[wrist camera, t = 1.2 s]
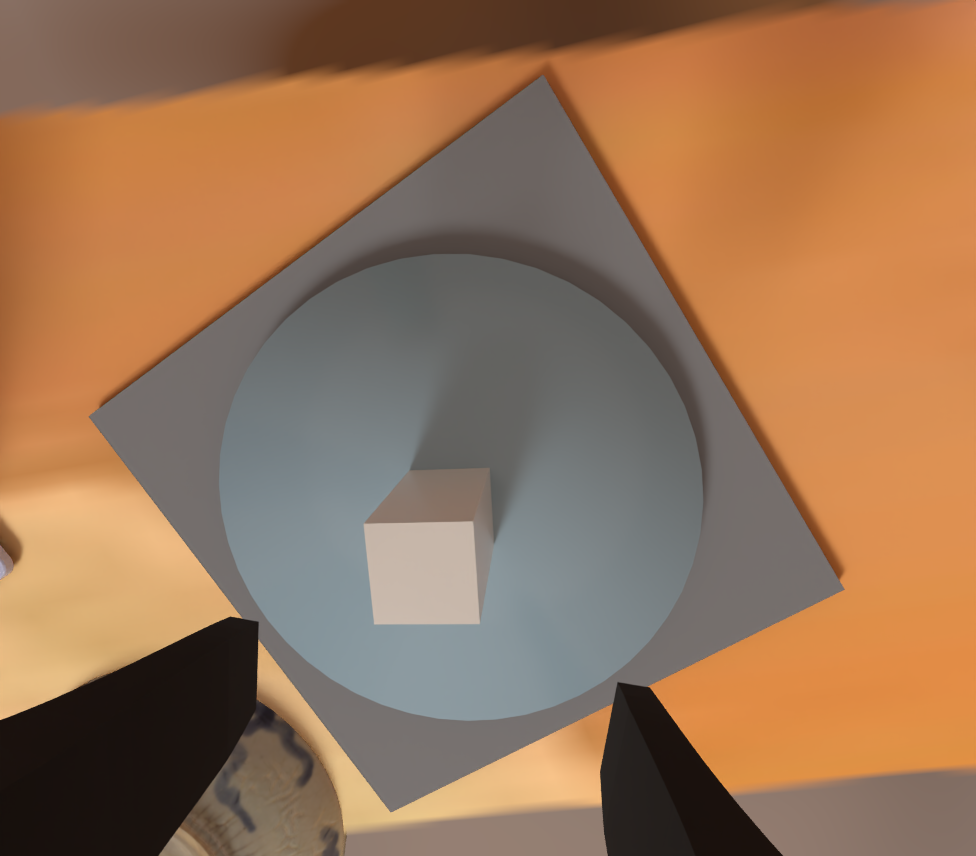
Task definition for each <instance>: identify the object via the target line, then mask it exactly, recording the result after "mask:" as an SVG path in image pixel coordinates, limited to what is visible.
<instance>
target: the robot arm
mask: <svg viewBox="0 0 976 856" xmlns="http://www.w3.org/2000/svg"><path fill="white" fill-rule="evenodd" d="M13 566H14V565H13V561H12V559H11V557H10V556H9V555H8V554H7V552H6V551H5V550H4V549H3V548H2V546H1V545H0V580H1V579H2V578H4V577H5V576H7V575H8V574H9V573H11V571H12V570H13ZM258 632H259V621H253V620H247V619H241V618H235V617H228V618H226V619H224V620H221V621H219V622H217V623H214V624H212V625H210V626H208V627H206V628H204V629H202V630H199V631H197V632H195V633H193V634H191V635H189V636H187V637H185V638H183V639H181V640H179V641H177V642H175V643H173V644H171V645H169V646H167V647H165V648H163V649H161V650H159V651H156V652H154V653H152V654H150V655H148V656H146V657H144V658H142V659H140V660H138V661H136V662H134V663H132V664H130V665H128V666H126V667H123V668H121V669H119V670H117V671H115V672H113V673H110V674H108V675H106V676H104V677H101V678H99V679H97V680H95V681H93V682H90V683H88V684H86V685H84V686H81V687H79V688H77V689H75V690H72V691H70V692H68V693H66V694H64V695H61V696H59V697H57V698H55V699H52V700H50V701H47V702H45V703H43V704H40V705H38V706H35V707H33V708H30V709H28V710H25V711H23V712H20V713H18V714H15V715H13V716H10V717H8V718H5V719H2V720H0V856H159V854H160V853H161V852H162V850H163V849H164V847H165V846H166V845H167V843H168V842H169V841H170V839H171V838H172V836H173V835H174V834H175V832H176V831H177V830H178V828H179V827H180V826H181V824H182V823H183V821H184V820H185V819H186V817H187V816H188V815H189V813H190V812H191V810H192V809H193V808H194V806H195V805H196V804H197V802H198V801H199V799H200V798H201V797H202V795H203V794H204V792H205V791H206V790H207V788H208V787H209V785H210V784H211V783H212V781H213V780H214V779H215V777H216V776H217V774H218V773H219V772H220V770H221V769H222V767H223V766H224V764H225V763H226V762H227V760H228V758H229V757H230V755H231V753H232V751H233V750H234V748H235V746H236V745H237V743H238V741H239V739H240V738H241V736H242V734H243V732H244V731H245V729H246V727H247V725H248V723H249V721H250V720H251V718H252V716H253V714H254V712H255V710H256V698H257V665H258ZM600 778H601V795H602V810H603V824H604V835H605V840H606V847H607V853H608V856H783V855H782V854H781V853H780V852H779V851H778V850H777V849H776V848H775V847H774V845H773V844H772V843H771V842H770V841H769V840H768V839H767V837H766V836H765V835H764V834H763V833H762V832H761V831H760V829H759V828H758V827H757V826H756V825H755V824H754V822H753V821H752V820H751V819H750V818H749V816H748V815H747V814H746V813H745V812H744V811H743V810H742V808H741V807H740V806H739V805H738V804H737V802H736V801H735V800H734V799H733V797H732V796H731V795H730V794H729V793H728V791H727V790H726V789H725V788H724V786H723V785H722V784H721V783H720V781H719V780H718V779H717V778H716V776H715V775H714V774H713V772H712V771H711V770H710V769H709V767H708V766H707V765H706V763H705V762H704V761H703V760H702V758H701V757H700V756H699V754H698V753H697V752H696V750H695V749H694V748H693V746H692V745H691V744H690V742H689V741H688V739H687V738H686V737H685V735H684V734H683V733H682V731H681V730H680V729H679V727H678V726H677V724H676V723H675V722H674V720H673V719H672V717H671V716H670V715H669V713H668V712H667V711H666V709H665V708H664V706H663V705H662V704H661V702H660V701H659V700H658V698H657V697H656V695H655V694H654V693H653V691H652V690H651V689H650V687H644V686H638V685H632V684H627V683H621V682H617V687H616V692H615V697H614V702H613V708H612V713H611V718H610V723H609V728H608V733H607V739H606V744H605V749H604V754H603V759H602V765H601V770H600Z"/></svg>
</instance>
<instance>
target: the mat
mask: <svg viewBox="0 0 976 856" xmlns="http://www.w3.org/2000/svg"><path fill="white" fill-rule="evenodd" d="M431 254H472V255H479V256H487V257H494V258H501V259H506V260H509V261H513V262H516V263H520V264H523V265H527V266H531V267H534V268H537V269H540V270H542V271H544V272H547V273H549V274H551V275H554V276H556V277H558V278H560V279H563V280H565V281H567V282H569V283H571V284H573V285H574V286H576V287H578V288H579V289H581V290H583V291H584V292H586V293H588V294H589V295H591V296H592V297H594V298H596V299H597V300H599V301H600V302H602V303H603V304H604V305H605V306H606V307H608V308H609V309H610V310H611V311H613V312H614V313H615V314H616V315H617V316H619V317H620V318H621V319H622V320H624V321H625V322H626V323H627V324H628V325H629V326H630V327H631V328H632V329H633V330H634V331H635V333H636V334H637V335H638V336H639V337H640V338H641V339H642V340H643V341H644V342H645V343H646V344H647V345H648V347H649V348H650V349H651V350H652V352H653V353H654V355H655V356H656V357H657V359H658V360H659V362H660V363H661V365H662V366H663V367H664V369H665V370H666V372H667V373H668V375H669V376H670V378H671V380H672V382H673V384H674V386H675V388H676V390H677V392H678V394H679V396H680V398H681V400H682V402H683V404H684V405H685V408H686V411H687V414H688V417H689V420H690V423H691V425H692V428H693V431H694V434H695V437H696V442H697V447H698V452H699V458H700V463H701V468H702V484H703V511H702V522H701V532H700V537H699V541H698V545H697V549H696V554H695V558H694V562H693V565H692V568H691V570H690V573H689V575H688V578H687V580H686V583H685V585H684V588H683V590H682V593H681V594H680V596H679V598H678V600H677V601H676V603H675V605H674V607H673V609H672V610H671V612H670V614H669V616H668V617H667V619H666V620H665V621H664V623H663V624H662V625H661V627H660V628H659V629H658V631H657V632H656V633H655V635H654V636H653V637H652V639H651V640H650V641H649V642H648V643H647V644H646V645H645V646H644V647H643V648H642V649H641V650H640V651H639V652H638V653H637V654H636V655H635V656H634V657H633V658H632V659H631V660H630V661H629V662H628V663H627V664H626V665H625V666H623V667H622V668H621V669H619V670H618V671H617V672H615V673H614V674H613V675H612V676H610V677H609V678H608V679H606V680H605V681H603V682H602V683H600V684H598V685H597V686H595V687H593V688H591V689H590V690H588V691H586V692H585V693H583V694H581V695H579V696H577V697H575V698H572V699H570V700H568V701H565V702H563V703H561V704H558V705H556V706H554V707H550V708H547V709H544V710H540V711H537V712H533V713H530V714H526V715H521V716H515V717H509V718H503V719H496V720H474V721H463V720H449V719H437V718H432V717H427V716H421V715H416V714H411V713H407V712H404V711H401V710H397V709H394V708H391V707H388V706H384V705H381V704H379V703H377V702H375V701H372V700H370V699H368V698H365V697H363V696H361V695H358V694H356V693H354V692H353V691H351V690H349V689H347V688H346V687H344V686H342V685H340V684H339V683H337V682H335V681H334V680H332V679H330V678H329V677H327V676H326V675H325V674H323V673H322V672H321V671H319V670H318V669H317V668H315V667H314V666H313V665H311V664H310V663H309V662H307V661H306V660H305V659H304V658H303V657H302V656H301V655H300V654H299V653H298V652H296V651H295V650H294V649H293V648H292V647H291V646H290V645H289V644H288V643H287V642H286V641H285V640H284V639H283V638H282V636H281V635H280V634H279V633H278V632H277V631H276V629H275V628H274V627H273V626H272V625H271V623H270V622H269V621H268V620H267V619H266V617H265V616H264V614H263V613H262V611H261V610H260V608H259V607H258V605H257V604H256V602H255V601H254V599H253V598H252V596H251V594H250V592H249V590H248V588H247V586H246V584H245V582H244V580H243V578H242V576H241V574H240V572H239V571H238V568H237V565H236V563H235V560H234V557H233V554H232V552H231V549H230V546H229V543H228V539H227V535H226V531H225V526H224V522H223V517H222V512H221V501H220V490H219V468H220V452H221V446H222V440H223V434H224V429H225V424H226V421H227V418H228V414H229V411H230V408H231V405H232V402H233V399H234V396H235V394H236V392H237V390H238V387H239V385H240V383H241V381H242V379H243V377H244V375H245V373H246V371H247V369H248V367H249V366H250V364H251V363H252V361H253V360H254V358H255V357H256V355H257V354H258V352H259V351H260V349H261V348H262V346H263V345H264V343H265V342H266V341H267V340H268V339H269V337H270V336H271V335H272V334H273V333H274V332H275V331H276V330H277V328H278V327H279V326H280V325H281V324H282V323H283V322H284V321H285V319H287V318H288V317H289V316H290V315H291V314H293V313H294V312H295V311H296V310H297V309H298V308H300V307H301V306H302V305H303V304H304V303H306V302H307V301H308V300H309V299H310V298H312V297H314V296H315V295H317V294H318V293H320V292H322V291H323V290H325V289H326V288H328V287H330V286H331V285H333V284H334V283H336V282H338V281H340V280H342V279H344V278H347V277H349V276H351V275H353V274H355V273H358V272H360V271H362V270H364V269H367V268H370V267H373V266H377V265H380V264H384V263H387V262H391V261H394V260H398V259H402V258H409V257H416V256H423V255H431ZM89 418H90V419H91V420H92V422H93V423H94V424H95V425H96V427H97V428H98V429H99V431H100V432H101V433H102V435H103V436H104V437H105V439H106V440H107V441H108V442H109V444H110V445H111V446H112V448H113V449H114V450H115V452H116V453H117V454H118V456H119V457H120V458H121V460H122V461H123V462H124V463H125V465H126V466H127V467H128V469H129V470H130V471H131V473H132V474H133V475H134V477H135V478H136V479H137V480H138V482H139V483H140V484H141V486H142V487H143V488H144V490H145V491H146V492H147V494H148V495H149V496H150V498H151V499H152V500H153V501H154V503H155V504H156V505H157V507H158V508H159V509H160V511H161V512H162V513H163V515H164V516H165V517H166V518H167V520H168V521H169V522H170V524H171V525H172V526H173V528H174V529H175V530H176V532H177V533H178V534H179V536H180V537H181V538H182V539H183V541H184V542H185V543H186V545H187V546H188V547H189V549H190V550H191V551H192V553H193V554H194V555H195V556H196V558H197V559H198V560H199V562H200V563H201V564H202V566H203V567H204V568H205V570H206V571H207V572H208V574H209V575H210V576H211V577H212V579H213V580H214V581H215V583H216V584H217V585H218V587H219V588H220V589H221V591H222V592H223V593H224V594H225V596H226V597H227V598H228V600H229V601H230V602H231V604H232V605H233V606H234V608H235V609H236V610H237V612H238V613H239V614H240V615H241V617H242V618H243V619H247V620H253V621H259V632H258V639H259V640H260V642H261V643H262V644H263V646H264V647H265V648H266V650H267V651H268V652H269V653H270V655H271V656H272V657H273V659H274V660H275V661H276V663H277V664H278V665H279V667H280V668H281V669H282V670H283V672H284V673H285V674H286V676H287V677H288V678H289V680H290V681H291V682H292V684H293V685H294V686H295V688H296V689H297V690H298V691H299V693H300V694H301V695H302V697H303V698H304V699H305V701H306V702H307V703H308V705H309V706H310V707H311V708H312V710H313V711H314V712H315V714H316V715H317V716H318V718H319V719H320V720H321V722H322V723H323V724H324V726H325V727H326V728H327V729H328V731H329V732H330V733H331V735H332V736H333V737H334V739H335V740H336V741H337V743H338V744H339V745H340V746H341V748H342V749H343V750H344V752H345V753H346V754H347V756H348V757H349V758H350V760H351V761H352V762H353V764H354V765H355V766H356V767H357V769H358V770H359V771H360V773H361V774H362V775H363V777H364V778H365V779H366V781H367V782H368V783H369V784H370V786H371V787H372V788H373V790H374V791H375V792H376V794H377V795H378V796H379V798H380V799H381V800H382V802H383V803H384V804H385V805H386V807H387V808H388V809H389V811H390V812H393V811H395V810H397V809H399V808H401V807H403V806H405V805H407V804H409V803H411V802H413V801H415V800H417V799H419V798H421V797H423V796H425V795H427V794H429V793H432V792H434V791H436V790H438V789H440V788H442V787H444V786H446V785H448V784H450V783H452V782H454V781H456V780H458V779H460V778H462V777H464V776H466V775H468V774H470V773H472V772H474V771H476V770H478V769H480V768H482V767H484V766H486V765H488V764H491V763H493V762H495V761H497V760H499V759H501V758H503V757H505V756H507V755H509V754H511V753H513V752H515V751H517V750H519V749H521V748H523V747H525V746H527V745H529V744H531V743H533V742H535V741H537V740H539V739H541V738H543V737H545V736H547V735H550V734H552V733H554V732H556V731H558V730H560V729H562V728H564V727H566V726H568V725H570V724H572V723H574V722H576V721H578V720H580V719H582V718H584V717H586V716H588V715H590V714H592V713H594V712H596V711H598V710H600V709H602V708H604V707H606V706H609V705H611V704H613V702H614V697H615V692H616V687H617V682H621V683H627V684H632V685H638V686H644V687H647V686H649V685H651V684H653V683H655V682H657V681H659V680H661V679H663V678H666V677H668V676H670V675H672V674H674V673H676V672H678V671H680V670H682V669H684V668H686V667H688V666H690V665H692V664H694V663H696V662H698V661H700V660H702V659H704V658H706V657H708V656H710V655H712V654H714V653H716V652H718V651H720V650H722V649H725V648H727V647H729V646H731V645H733V644H735V643H737V642H739V641H741V640H743V639H745V638H747V637H749V636H751V635H753V634H755V633H757V632H759V631H761V630H763V629H765V628H767V627H769V626H771V625H773V624H775V623H777V622H779V621H781V620H784V619H786V618H788V617H790V616H792V615H794V614H796V613H798V612H800V611H802V610H804V609H806V608H808V607H810V606H812V605H814V604H816V603H818V602H820V601H822V600H824V599H826V598H828V597H830V596H832V595H834V594H836V593H838V592H840V591H843V590H845V589H844V588H843V586H842V584H841V583H840V581H839V579H838V578H837V576H836V574H835V572H834V571H833V569H832V567H831V566H830V564H829V562H828V560H827V559H826V557H825V555H824V554H823V552H822V550H821V548H820V547H819V545H818V543H817V542H816V540H815V538H814V537H813V535H812V533H811V531H810V530H809V528H808V526H807V525H806V523H805V521H804V519H803V518H802V516H801V514H800V513H799V511H798V509H797V507H796V506H795V504H794V502H793V501H792V499H791V497H790V495H789V494H788V492H787V490H786V489H785V487H784V485H783V484H782V482H781V480H780V478H779V477H778V475H777V473H776V472H775V470H774V468H773V466H772V465H771V463H770V461H769V460H768V458H767V456H766V454H765V453H764V451H763V449H762V448H761V446H760V444H759V442H758V441H757V439H756V437H755V436H754V434H753V432H752V431H751V429H750V427H749V425H748V424H747V422H746V420H745V419H744V417H743V415H742V413H741V412H740V410H739V408H738V407H737V405H736V403H735V401H734V400H733V398H732V396H731V395H730V393H729V391H728V389H727V388H726V386H725V384H724V383H723V381H722V379H721V378H720V376H719V374H718V372H717V371H716V369H715V367H714V366H713V364H712V362H711V360H710V359H709V357H708V355H707V354H706V352H705V350H704V348H703V347H702V345H701V343H700V342H699V340H698V338H697V336H696V335H695V333H694V331H693V330H692V328H691V326H690V325H689V323H688V321H687V319H686V318H685V316H684V314H683V313H682V311H681V309H680V307H679V306H678V304H677V302H676V301H675V299H674V297H673V295H672V294H671V292H670V290H669V289H668V287H667V285H666V284H665V282H664V280H663V278H662V277H661V275H660V273H659V272H658V270H657V268H656V266H655V265H654V263H653V261H652V260H651V258H650V256H649V254H648V253H647V251H646V249H645V248H644V246H643V244H642V242H641V241H640V239H639V237H638V236H637V234H636V232H635V231H634V229H633V227H632V225H631V224H630V222H629V220H628V219H627V217H626V215H625V213H624V212H623V210H622V208H621V207H620V205H619V203H618V201H617V200H616V198H615V196H614V195H613V193H612V191H611V189H610V188H609V186H608V184H607V183H606V181H605V179H604V178H603V176H602V174H601V172H600V171H599V169H598V167H597V166H596V164H595V162H594V160H593V159H592V157H591V155H590V154H589V152H588V150H587V148H586V147H585V145H584V143H583V142H582V140H581V138H580V136H579V135H578V133H577V131H576V130H575V128H574V126H573V125H572V123H571V121H570V119H569V118H568V116H567V114H566V113H565V111H564V109H563V107H562V106H561V104H560V102H559V101H558V99H557V97H556V95H555V94H554V92H553V90H552V89H551V87H550V85H549V84H548V82H547V80H546V78H545V77H544V75H542V76H541V77H539V78H538V79H537V80H535V81H534V82H533V83H531V84H530V85H529V86H527V87H526V88H525V89H523V90H522V91H521V92H519V93H518V94H517V95H515V96H514V97H513V98H511V99H510V100H509V101H507V102H506V103H505V104H503V105H502V106H501V107H499V108H498V109H497V110H495V111H494V112H493V113H491V114H490V115H489V116H487V117H486V118H485V119H483V120H482V121H481V122H479V123H478V124H477V125H475V126H474V127H473V128H471V129H470V130H469V131H467V132H466V133H465V134H463V135H462V136H461V137H459V138H458V139H457V140H455V141H454V142H453V143H451V144H450V145H449V146H447V147H446V148H445V149H443V150H442V151H441V152H439V153H438V154H437V155H436V156H434V157H433V158H432V159H430V160H429V161H428V162H426V163H425V164H424V165H422V166H421V167H420V168H418V169H417V170H416V171H414V172H413V173H412V174H410V175H409V176H408V177H406V178H405V179H404V180H402V181H401V182H400V183H398V184H397V185H396V186H394V187H393V188H392V189H390V190H389V191H388V192H386V193H385V194H384V195H382V196H381V197H380V198H378V199H377V200H376V201H374V202H373V203H372V204H370V205H369V206H368V207H366V208H365V209H364V210H362V211H361V212H360V213H358V214H357V215H356V216H354V217H353V218H352V219H350V220H349V221H348V222H346V223H345V224H344V225H342V226H341V227H340V228H338V229H337V230H336V231H334V232H333V233H332V234H330V235H329V236H328V237H326V238H325V239H324V240H322V241H321V242H320V243H319V244H317V245H316V246H315V247H313V248H312V249H311V250H309V251H308V252H307V253H305V254H304V255H303V256H301V257H300V258H299V259H297V260H296V261H295V262H293V263H292V264H291V265H289V266H288V267H287V268H285V269H284V270H283V271H281V272H280V273H279V274H277V275H276V276H275V277H273V278H272V279H271V280H269V281H268V282H267V283H265V284H264V285H263V286H261V287H260V288H259V289H257V290H256V291H255V292H253V293H252V294H251V295H249V296H248V297H247V298H245V299H244V300H243V301H241V302H240V303H239V304H237V305H236V306H235V307H233V308H232V309H231V310H229V311H228V312H227V313H225V314H224V315H223V316H221V317H220V318H219V319H217V320H216V321H215V322H213V323H212V324H211V325H209V326H208V327H207V328H205V329H204V330H203V331H202V332H200V333H199V334H198V335H196V336H195V337H194V338H192V339H191V340H190V341H188V342H187V343H186V344H184V345H183V346H182V347H180V348H179V349H178V350H176V351H175V352H174V353H172V354H171V355H170V356H168V357H167V358H166V359H164V360H163V361H162V362H160V363H159V364H158V365H156V366H155V367H154V368H152V369H151V370H150V371H148V372H147V373H146V374H144V375H143V376H142V377H140V378H139V379H138V380H136V381H135V382H134V383H132V384H131V385H130V386H128V387H127V388H126V389H124V390H123V391H122V392H120V393H119V394H118V395H116V396H115V397H114V398H112V399H111V400H110V401H108V402H107V403H106V404H104V405H103V406H102V407H100V408H99V409H98V410H96V411H95V412H94V413H92V414H91V415H90V416H89Z"/></svg>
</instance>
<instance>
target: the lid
mask: <svg viewBox="0 0 976 856" xmlns="http://www.w3.org/2000/svg"><path fill="white" fill-rule="evenodd" d="M219 490H220V501H221V512H222V517H223V522H224V526H225V531H226V535H227V539H228V543H229V546H230V549H231V552H232V554H233V557H234V560H235V563H236V565H237V568H238V571H239V572H240V574H241V576H242V578H243V580H244V582H245V584H246V586H247V588H248V590H249V592H250V594H251V596H252V598H253V599H254V601H255V602H256V604H257V605H258V607H259V608H260V610H261V611H262V613H263V614H264V616H265V617H266V619H267V620H268V621H269V622H270V623H271V625H272V626H273V627H274V628H275V629H276V631H277V632H278V633H279V634H280V635H281V636H282V638H283V639H284V640H285V641H286V642H287V643H288V644H289V645H290V646H291V647H292V648H293V649H294V650H295V651H296V652H298V653H299V654H300V655H301V656H302V657H303V658H304V659H305V660H306V661H307V662H309V663H310V664H311V665H313V666H314V667H315V668H317V669H318V670H319V671H321V672H322V673H323V674H325V675H326V676H327V677H329V678H330V679H332V680H334V681H335V682H337V683H339V684H340V685H342V686H344V687H346V688H347V689H349V690H351V691H353V692H354V693H356V694H358V695H361V696H363V697H365V698H368V699H370V700H372V701H375V702H377V703H379V704H381V705H384V706H388V707H391V708H394V709H397V710H401V711H404V712H407V713H411V714H416V715H421V716H427V717H432V718H437V719H449V720H463V721H474V720H496V719H503V718H509V717H515V716H521V715H526V714H530V713H533V712H537V711H540V710H544V709H547V708H550V707H554V706H556V705H558V704H561V703H563V702H565V701H568V700H570V699H572V698H575V697H577V696H579V695H581V694H583V693H585V692H586V691H588V690H590V689H591V688H593V687H595V686H597V685H598V684H600V683H602V682H603V681H605V680H606V679H608V678H609V677H610V676H612V675H613V674H614V673H615V672H617V671H618V670H619V669H621V668H622V667H623V666H625V665H626V664H627V663H628V662H629V661H630V660H631V659H632V658H633V657H634V656H635V655H636V654H637V653H638V652H639V651H640V650H641V649H642V648H643V647H644V646H645V645H646V644H647V643H648V642H649V641H650V640H651V639H652V637H653V636H654V635H655V633H656V632H657V631H658V629H659V628H660V627H661V625H662V624H663V623H664V621H665V620H666V619H667V617H668V616H669V614H670V612H671V610H672V609H673V607H674V605H675V603H676V601H677V600H678V598H679V596H680V594H681V593H682V590H683V588H684V585H685V583H686V580H687V578H688V575H689V573H690V570H691V568H692V565H693V562H694V558H695V554H696V549H697V545H698V541H699V537H700V532H701V522H702V511H703V484H702V468H701V463H700V458H699V452H698V447H697V442H696V437H695V434H694V431H693V428H692V425H691V423H690V420H689V417H688V414H687V411H686V408H685V405H684V404H683V402H682V400H681V398H680V396H679V394H678V392H677V390H676V388H675V386H674V384H673V382H672V380H671V378H670V376H669V375H668V373H667V372H666V370H665V369H664V367H663V366H662V365H661V363H660V362H659V360H658V359H657V357H656V356H655V355H654V353H653V352H652V350H651V349H650V348H649V347H648V345H647V344H646V343H645V342H644V341H643V340H642V339H641V338H640V337H639V336H638V335H637V334H636V333H635V331H634V330H633V329H632V328H631V327H630V326H629V325H628V324H627V323H626V322H625V321H624V320H622V319H621V318H620V317H619V316H617V315H616V314H615V313H614V312H613V311H611V310H610V309H609V308H608V307H606V306H605V305H604V304H603V303H602V302H600V301H599V300H597V299H596V298H594V297H592V296H591V295H589V294H588V293H586V292H584V291H583V290H581V289H579V288H578V287H576V286H574V285H573V284H571V283H569V282H567V281H565V280H563V279H560V278H558V277H556V276H554V275H551V274H549V273H547V272H544V271H542V270H540V269H537V268H534V267H531V266H527V265H523V264H520V263H516V262H513V261H509V260H506V259H501V258H494V257H487V256H479V255H472V254H431V255H423V256H416V257H409V258H402V259H398V260H394V261H391V262H387V263H384V264H380V265H377V266H373V267H370V268H367V269H364V270H362V271H360V272H358V273H355V274H353V275H351V276H349V277H347V278H344V279H342V280H340V281H338V282H336V283H334V284H333V285H331V286H330V287H328V288H326V289H325V290H323V291H322V292H320V293H318V294H317V295H315V296H314V297H312V298H310V299H309V300H308V301H307V302H306V303H304V304H303V305H302V306H301V307H300V308H298V309H297V310H296V311H295V312H294V313H293V314H291V315H290V316H289V317H288V318H287V319H285V321H284V322H283V323H282V324H281V325H280V326H279V327H278V328H277V330H276V331H275V332H274V333H273V334H272V335H271V336H270V337H269V339H268V340H267V341H266V342H265V343H264V345H263V346H262V348H261V349H260V351H259V352H258V354H257V355H256V357H255V358H254V360H253V361H252V363H251V364H250V366H249V367H248V369H247V371H246V373H245V375H244V377H243V379H242V381H241V383H240V385H239V387H238V390H237V392H236V394H235V396H234V399H233V402H232V405H231V408H230V411H229V414H228V418H227V421H226V424H225V429H224V434H223V440H222V446H221V452H220V468H219Z"/></svg>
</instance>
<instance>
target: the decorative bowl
mask: <svg viewBox="0 0 976 856" xmlns="http://www.w3.org/2000/svg"><path fill="white" fill-rule="evenodd" d="M107 675H108V674H107ZM104 676H106V675H104ZM104 676H101V677H104ZM101 677H98V678H95V679H93V680H91V681H89V682H88V683H90V682H93V681H95V680H97V679H99V678H101ZM88 683H87V684H88ZM84 685H86V684H84ZM84 685H83V686H84ZM346 834H347V831H346V832H344V831H343V820H342V814H341V809H340V805H339V801H338V798H337V795H336V792H335V790H334V787H333V785H332V782H331V780H330V778H329V776H328V774H327V772H326V770H325V769H324V767H323V765H322V763H321V762H320V760H319V759H318V757H317V756H316V755H315V753H314V752H313V751H312V749H311V748H310V747H309V745H308V744H307V743H306V742H305V741H304V740H303V739H302V737H301V736H300V735H299V734H298V733H297V732H296V731H295V730H294V729H293V728H292V727H291V726H290V725H289V724H288V723H287V722H286V721H284V720H283V719H282V718H281V717H280V716H278V715H277V714H276V713H275V712H274V711H272V710H271V709H270V708H268V707H267V706H265V705H264V704H262V703H261V702H259V701H258V700H256V710H255V712H254V714H253V716H252V718H251V720H250V721H249V723H248V725H247V727H246V729H245V731H244V732H243V734H242V736H241V738H240V739H239V741H238V743H237V745H236V746H235V748H234V750H233V751H232V753H231V755H230V757H229V758H228V760H227V762H226V763H225V764H224V766H223V767H222V769H221V770H220V772H219V773H218V774H217V776H216V777H215V779H214V780H213V781H212V783H211V784H210V785H209V787H208V788H207V790H206V791H205V792H204V794H203V795H202V797H201V798H200V799H199V801H198V802H197V804H196V805H195V806H194V808H193V809H192V810H191V812H190V813H189V815H188V816H187V817H186V819H185V820H184V821H183V823H182V824H181V826H180V827H179V828H178V830H177V831H176V832H175V834H174V835H173V836H172V838H171V839H170V841H169V842H168V843H167V845H166V846H165V847H164V849H163V850H162V852H161V853H160V854H159V856H344V854H345V845H346V838H347V835H346Z"/></svg>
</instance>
